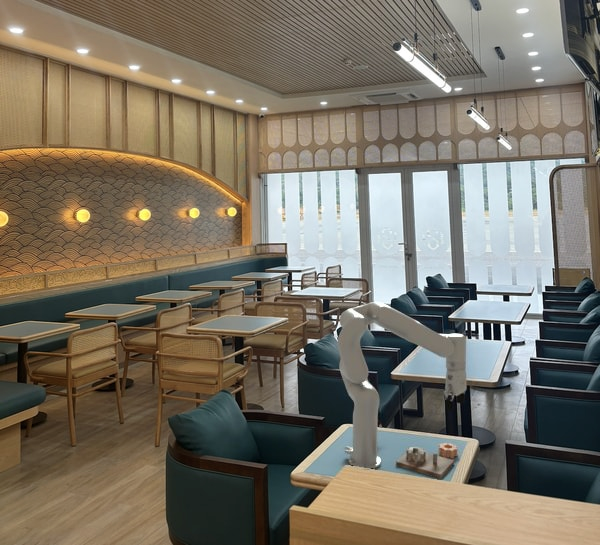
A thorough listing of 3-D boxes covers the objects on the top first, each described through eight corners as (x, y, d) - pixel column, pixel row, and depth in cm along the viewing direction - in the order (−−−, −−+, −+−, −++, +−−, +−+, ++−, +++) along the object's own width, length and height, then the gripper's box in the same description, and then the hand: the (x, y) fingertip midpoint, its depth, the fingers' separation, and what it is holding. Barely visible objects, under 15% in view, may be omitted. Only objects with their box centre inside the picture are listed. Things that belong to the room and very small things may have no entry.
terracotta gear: (435, 455, 212) (435, 447, 212) (442, 448, 218) (442, 441, 217) (453, 459, 208) (453, 452, 207) (460, 453, 213) (460, 445, 213)
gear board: (396, 465, 203) (396, 449, 203) (410, 452, 215) (411, 437, 214) (440, 478, 193) (441, 462, 192) (454, 463, 204) (454, 448, 203)
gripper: (455, 371, 199) (454, 414, 201) (473, 361, 212) (473, 402, 214) (436, 368, 204) (436, 410, 206) (456, 358, 217) (455, 398, 219)
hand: (455, 406), depth 210 cm, fingers open, 9 cm apart
